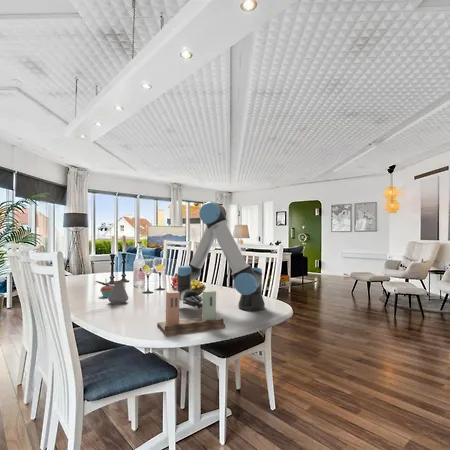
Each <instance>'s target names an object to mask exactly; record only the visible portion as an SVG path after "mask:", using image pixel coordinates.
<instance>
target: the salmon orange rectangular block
mask: <svg viewBox="0 0 450 450" xmlns="http://www.w3.org/2000/svg"><path fill="white" fill-rule="evenodd" d="M165 292H166V293H165V294H166V295H165V322H166V324H167V325H174V324H179V320H180V301H181V300H180V292H178V291H176V290H169V291H165Z"/></svg>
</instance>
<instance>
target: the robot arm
mask: <svg viewBox="0 0 450 450" xmlns="http://www.w3.org/2000/svg"><path fill="white" fill-rule="evenodd" d="M198 215H199V219H200V220H201V221H202V222H203V223H205V225H206V227H205V229H204V232H203V234H202V236H201V239H200V240H199V243H198V246H196V249H195V252H194V254H193V257H191V258H192V259H191V261H190V263H189V265H180V266H178V268H177V288H176V289H175V291H178V292H180V301H182V303H183V305H188V306H190V307H194V308H196V307H197V309H200V308H201V309H202V304H203V297H201V296H199V294H198V293H197V292H196V291H194V290H192V288H191V287H192V281H195V280H197V279H199V278H200V277H201V275H202V272H201V270H202V269H203V267H204V264H205V261H206V259H207V258H208V255H209V253H210V251H211V248H212V246H213V243H214V241H215V239H216V241H217V243H218V246H219V247H220V249H221V251H222V253H223V255H224V257H225V260H226V261H227V263H228V265H229V268H231V274H230V275H231V277H232V279H233V285H234V288H235V290H236V291H237V293H239V294H240V298H239V301H238V305H237V306H238V307H239V309H240V308H241V309H240V310H242V309H245V310H244V311H249V310H258V311H261V310H260V309H263V310H265V309H266V307H265V305H266V304H265V302H264V297H263V295H262V293H263V291H262V290H263V289H262V288H263V284H262V283H263V282H262V281H263V270H262V268H260V267H252V266H251V264H248V263H247V262H246V260H245V258H244V256H243V254H242V252H241V250H240V248H239V246H238V244H237V242H236V240H235V238H234V236H233V235H232V232H231V230H230V228H229V227H228V225H227V224H228V219H227V211H226V208H225V207H224V206H223V205H221V204H218V203H216V202H213V201H208V202H206V203H203V204H202V206H201V207H200V209H199V212H198ZM238 307H237V308H238ZM264 308H265V309H264Z"/></svg>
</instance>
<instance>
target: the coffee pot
mask: <svg viewBox="0 0 450 450" xmlns="http://www.w3.org/2000/svg"><path fill="white" fill-rule="evenodd" d="M97 284H100V285H102V286H110V287H112V288H113V289H112V292H111V294H110V296H109V297H107V298H108V302H109V303H111V304H112V305H123V304H125V303H126V302H127V301H128V300H129V295H128V293H127V290H126V288H125V286H124V284H125V281H124V280H115V281H113V284H114V285H111V284H108V283H107V284H106V282H101V281H98V280H95V282H94V285H97Z"/></svg>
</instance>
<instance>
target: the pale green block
mask: <svg viewBox="0 0 450 450" xmlns="http://www.w3.org/2000/svg"><path fill="white" fill-rule="evenodd" d="M202 298H203V304H202V308H201V309H202V310H201V311H202V312H201V313H202V314H201V316H202V321H206V320H214V319H217V291H216V290H213V289H209V290H206V289H205V290H202Z"/></svg>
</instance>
